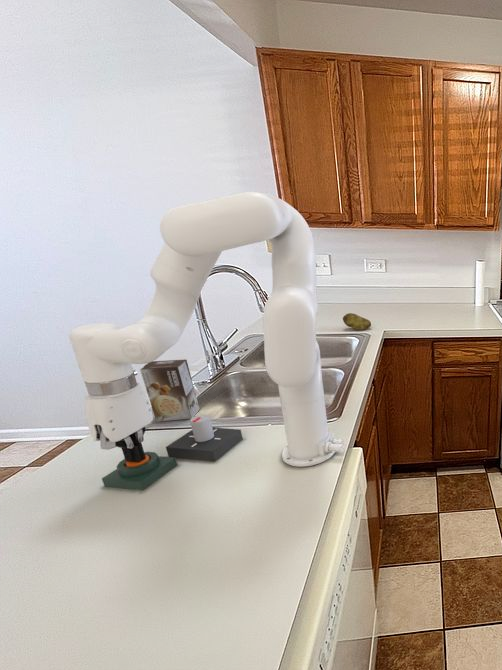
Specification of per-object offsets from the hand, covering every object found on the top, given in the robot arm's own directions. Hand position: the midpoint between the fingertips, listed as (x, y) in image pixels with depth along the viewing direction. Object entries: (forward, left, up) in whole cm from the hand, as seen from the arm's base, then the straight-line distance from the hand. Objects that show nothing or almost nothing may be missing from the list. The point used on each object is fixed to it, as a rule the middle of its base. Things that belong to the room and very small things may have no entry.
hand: (136, 460), depth 87 cm
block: (0, 0, -4) cm, 4 cm away
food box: (+14, -26, -4) cm, 30 cm away
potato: (-2, -119, 0) cm, 119 cm away
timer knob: (-6, -12, -1) cm, 14 cm away
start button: (0, 0, -2) cm, 2 cm away
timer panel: (-6, -12, -4) cm, 14 cm away
